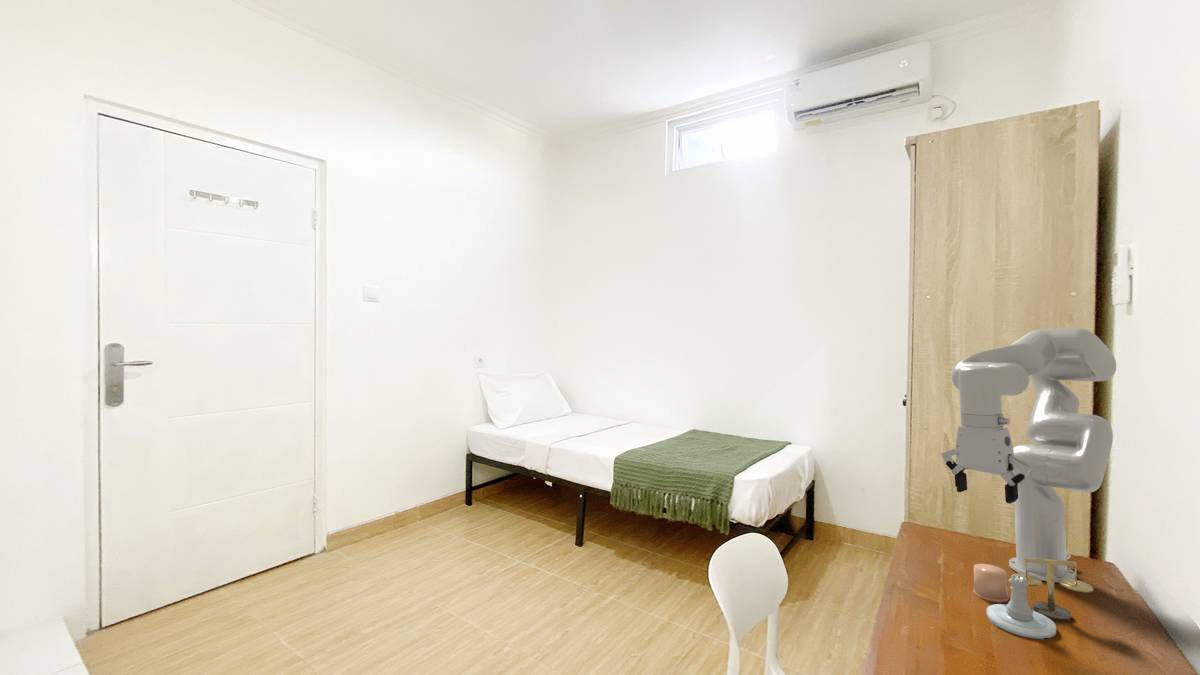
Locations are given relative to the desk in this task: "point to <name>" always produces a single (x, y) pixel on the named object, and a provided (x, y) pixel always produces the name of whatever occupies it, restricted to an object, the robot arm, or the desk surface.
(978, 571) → the peach dome knob
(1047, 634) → the dish
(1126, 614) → the desk surface
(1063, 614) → the balance
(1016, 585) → the rook chess piece
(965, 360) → the robot arm
